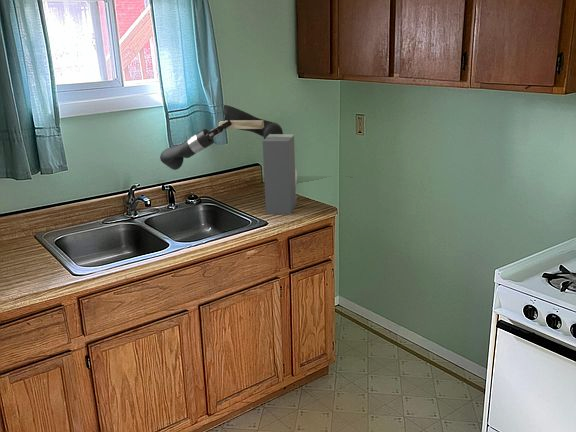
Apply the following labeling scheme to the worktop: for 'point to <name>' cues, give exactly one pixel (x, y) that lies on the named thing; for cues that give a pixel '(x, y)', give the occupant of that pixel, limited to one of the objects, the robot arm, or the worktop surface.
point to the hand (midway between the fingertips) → (231, 121)
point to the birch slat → (245, 124)
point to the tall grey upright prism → (279, 173)
